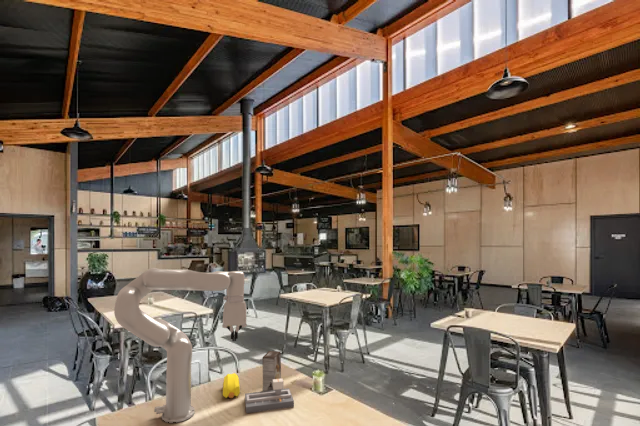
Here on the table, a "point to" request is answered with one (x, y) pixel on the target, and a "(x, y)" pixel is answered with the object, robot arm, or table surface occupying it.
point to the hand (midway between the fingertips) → (234, 340)
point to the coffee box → (271, 369)
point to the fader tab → (278, 386)
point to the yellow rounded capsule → (231, 386)
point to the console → (268, 400)
